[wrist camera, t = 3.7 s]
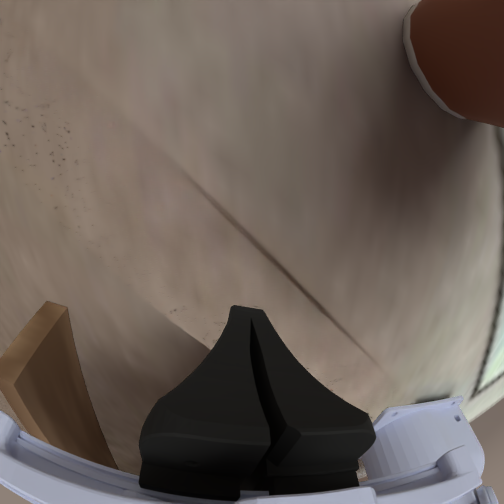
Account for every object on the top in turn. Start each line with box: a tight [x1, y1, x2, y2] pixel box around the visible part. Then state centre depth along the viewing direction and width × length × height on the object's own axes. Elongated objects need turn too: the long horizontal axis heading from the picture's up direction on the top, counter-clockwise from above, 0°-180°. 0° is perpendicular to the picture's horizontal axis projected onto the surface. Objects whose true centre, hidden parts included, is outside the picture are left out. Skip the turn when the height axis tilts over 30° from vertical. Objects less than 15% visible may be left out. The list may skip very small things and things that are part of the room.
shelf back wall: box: [0, 301, 118, 470], centre depth 16 cm, size 2×29×6 cm, turn 168°
